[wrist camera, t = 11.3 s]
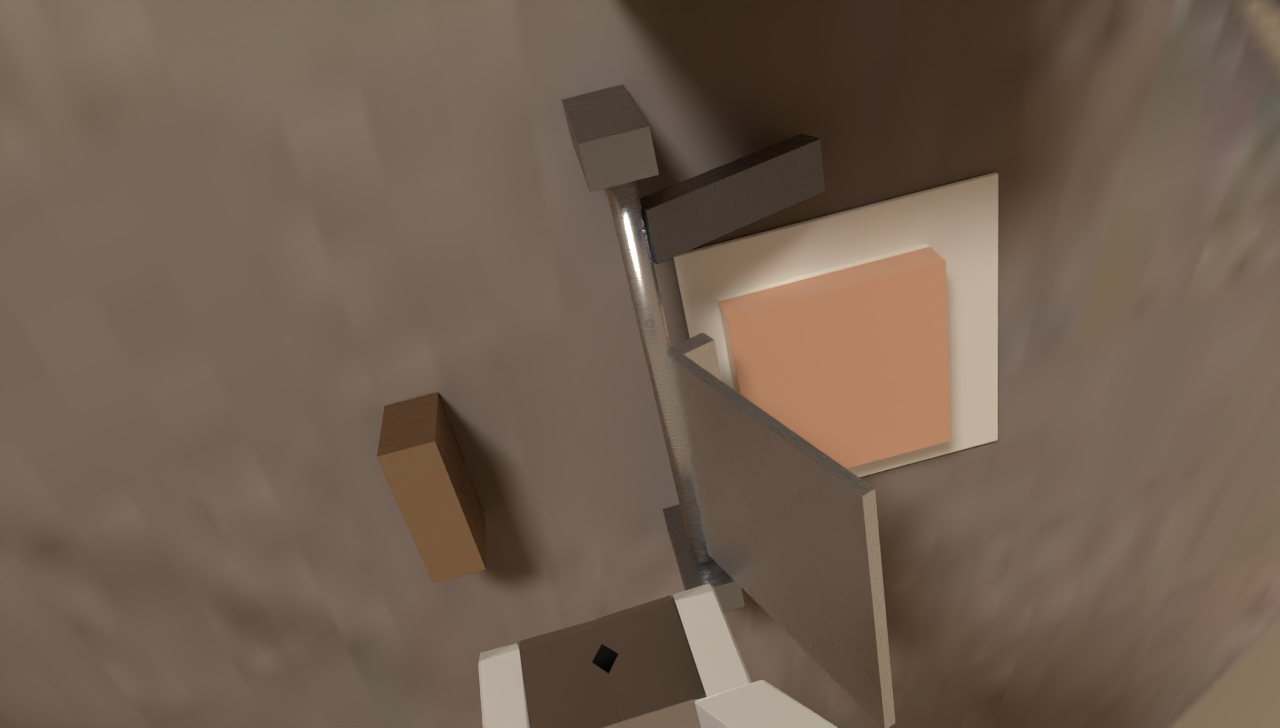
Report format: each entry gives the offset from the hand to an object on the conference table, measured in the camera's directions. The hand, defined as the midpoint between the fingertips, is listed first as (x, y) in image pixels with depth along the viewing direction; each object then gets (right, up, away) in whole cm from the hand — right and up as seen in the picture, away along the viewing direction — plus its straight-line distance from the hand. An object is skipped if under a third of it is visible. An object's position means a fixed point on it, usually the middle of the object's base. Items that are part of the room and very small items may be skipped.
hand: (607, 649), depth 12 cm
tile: (+8, +3, +23) cm, 24 cm away
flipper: (+3, +1, +16) cm, 16 cm away
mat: (+9, +4, +24) cm, 26 cm away
